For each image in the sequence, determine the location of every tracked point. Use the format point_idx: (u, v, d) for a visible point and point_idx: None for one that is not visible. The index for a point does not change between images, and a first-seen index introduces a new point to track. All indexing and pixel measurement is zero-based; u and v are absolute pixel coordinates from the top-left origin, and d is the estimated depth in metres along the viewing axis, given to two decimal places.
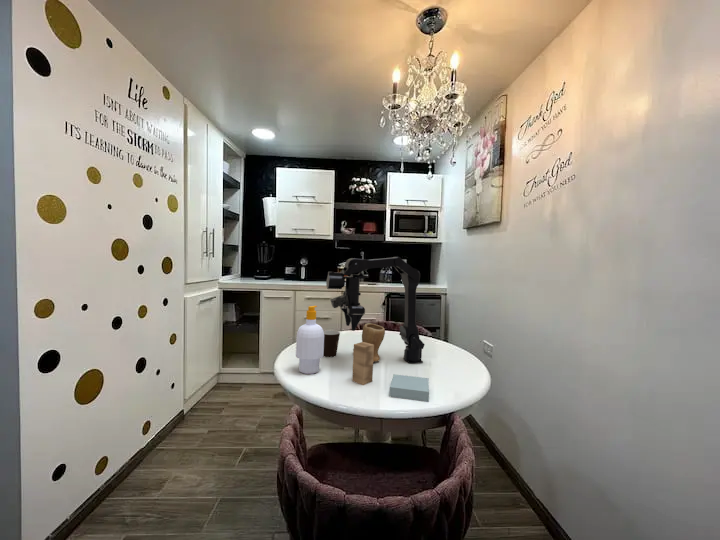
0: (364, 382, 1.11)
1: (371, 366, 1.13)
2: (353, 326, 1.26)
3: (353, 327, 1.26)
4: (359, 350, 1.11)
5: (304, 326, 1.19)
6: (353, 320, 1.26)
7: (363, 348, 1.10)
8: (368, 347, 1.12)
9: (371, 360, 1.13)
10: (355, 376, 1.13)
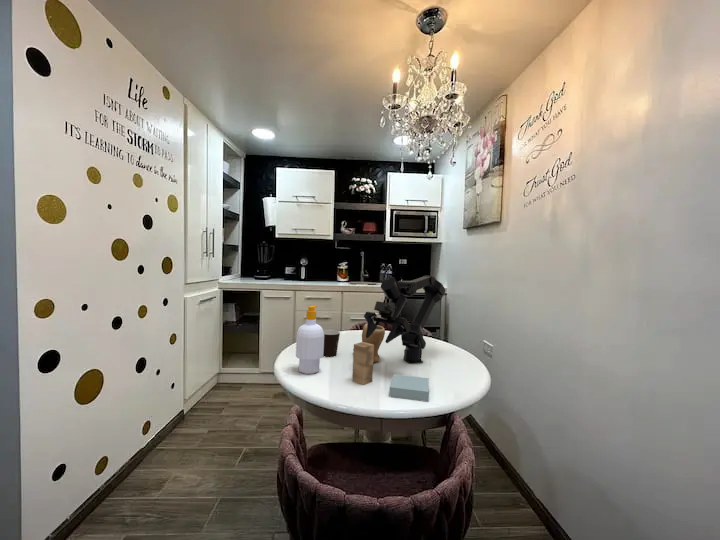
0: (364, 382, 1.11)
1: (371, 366, 1.13)
2: (389, 338, 1.17)
3: (389, 339, 1.17)
4: (359, 350, 1.11)
5: (304, 326, 1.19)
6: (393, 332, 1.18)
7: (363, 348, 1.10)
8: (368, 347, 1.12)
9: (371, 360, 1.13)
10: (355, 376, 1.13)
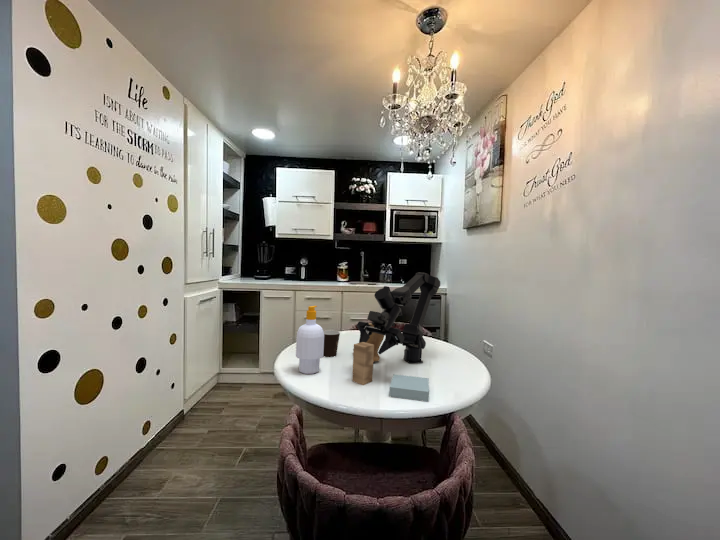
0: (364, 382, 1.11)
1: (371, 366, 1.13)
2: (382, 349, 1.13)
3: (382, 350, 1.13)
4: (359, 350, 1.11)
5: (304, 326, 1.19)
6: (387, 343, 1.14)
7: (363, 348, 1.10)
8: (368, 347, 1.12)
9: (371, 360, 1.13)
10: (355, 376, 1.13)
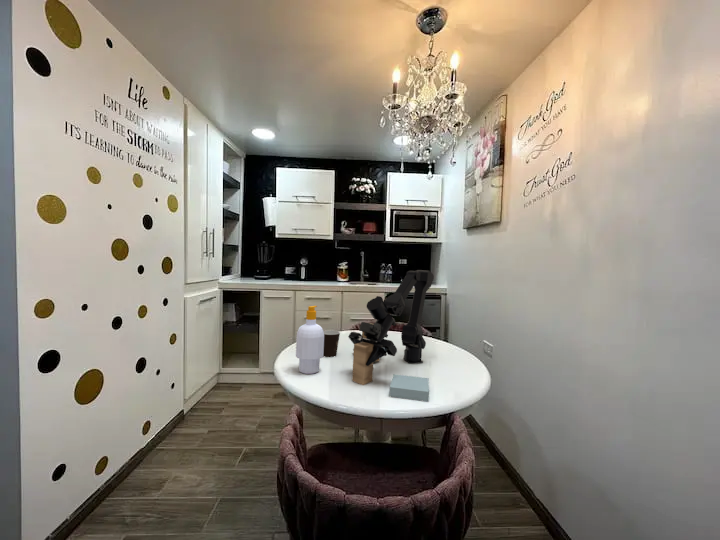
0: (364, 382, 1.11)
1: (371, 366, 1.13)
2: (370, 361, 1.11)
3: (369, 362, 1.11)
4: (360, 350, 1.11)
5: (304, 326, 1.19)
6: (374, 354, 1.12)
7: (363, 348, 1.10)
8: (368, 347, 1.11)
9: None
10: (355, 376, 1.13)
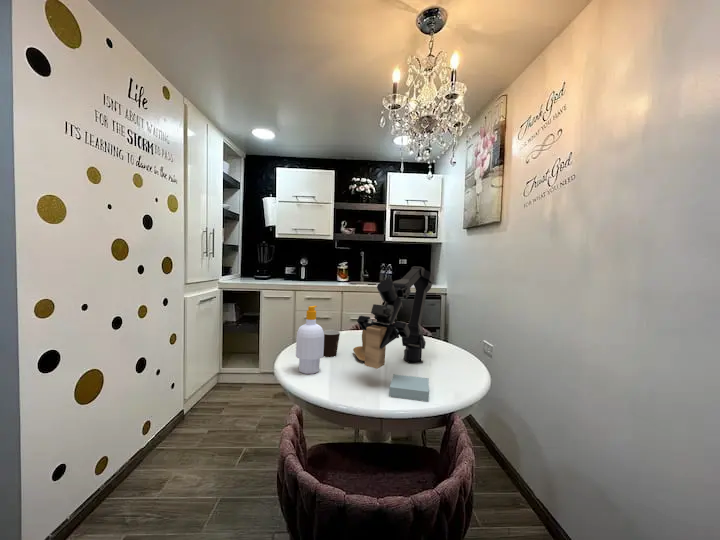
0: (378, 366, 1.08)
1: (384, 349, 1.11)
2: (384, 343, 1.09)
3: (383, 344, 1.09)
4: (373, 333, 1.08)
5: (304, 326, 1.19)
6: (388, 337, 1.10)
7: (377, 331, 1.07)
8: (382, 330, 1.09)
9: None
10: (368, 360, 1.09)
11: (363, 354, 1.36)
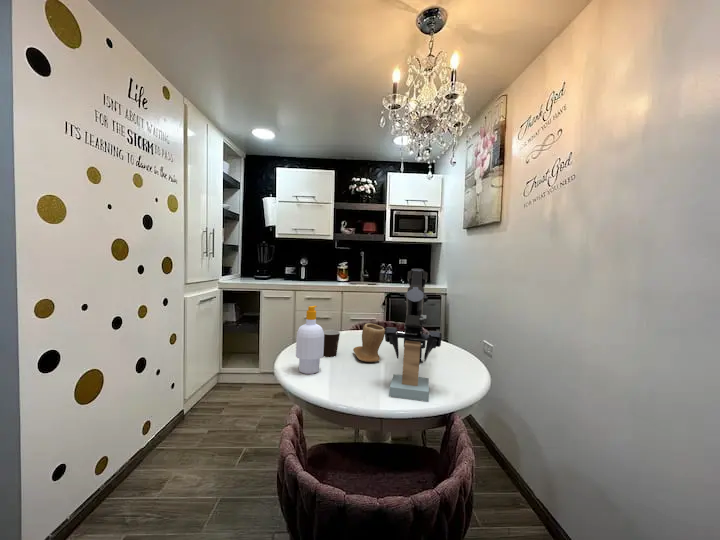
0: (417, 382, 1.04)
1: None
2: (427, 355, 1.05)
3: (426, 356, 1.05)
4: (413, 350, 1.04)
5: (304, 326, 1.19)
6: None
7: (418, 347, 1.03)
8: None
9: (419, 358, 1.07)
10: (406, 378, 1.04)
11: (363, 354, 1.36)
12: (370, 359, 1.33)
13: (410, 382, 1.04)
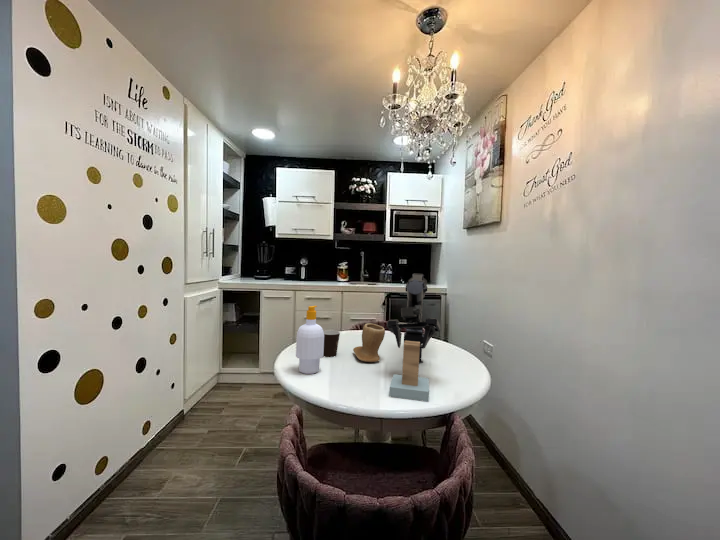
0: (417, 382, 1.04)
1: None
2: (426, 342, 1.13)
3: (425, 343, 1.13)
4: (412, 350, 1.04)
5: (304, 326, 1.19)
6: (428, 335, 1.14)
7: (417, 347, 1.04)
8: (419, 345, 1.05)
9: None
10: (406, 378, 1.05)
11: (363, 354, 1.36)
12: (370, 359, 1.33)
13: (410, 382, 1.04)
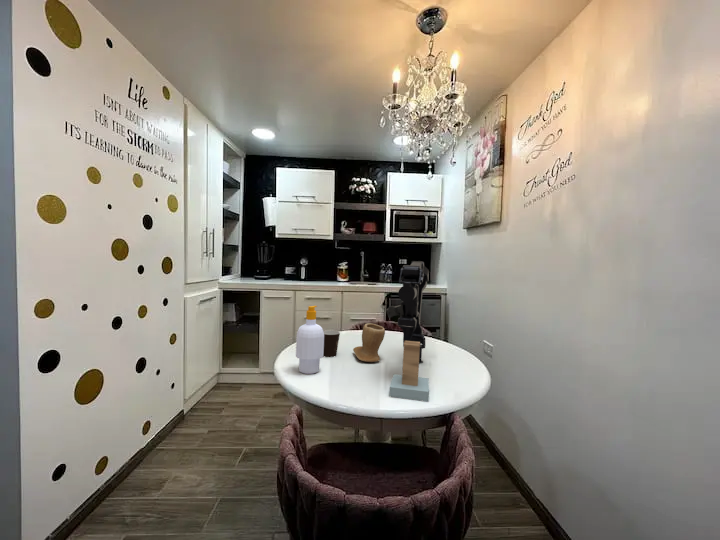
0: (417, 382, 1.04)
1: None
2: (406, 339, 1.16)
3: (406, 340, 1.16)
4: (412, 350, 1.04)
5: (304, 326, 1.19)
6: (405, 332, 1.16)
7: (417, 347, 1.04)
8: (419, 345, 1.05)
9: None
10: (406, 378, 1.05)
11: (363, 354, 1.36)
12: (370, 359, 1.33)
13: (410, 382, 1.04)
